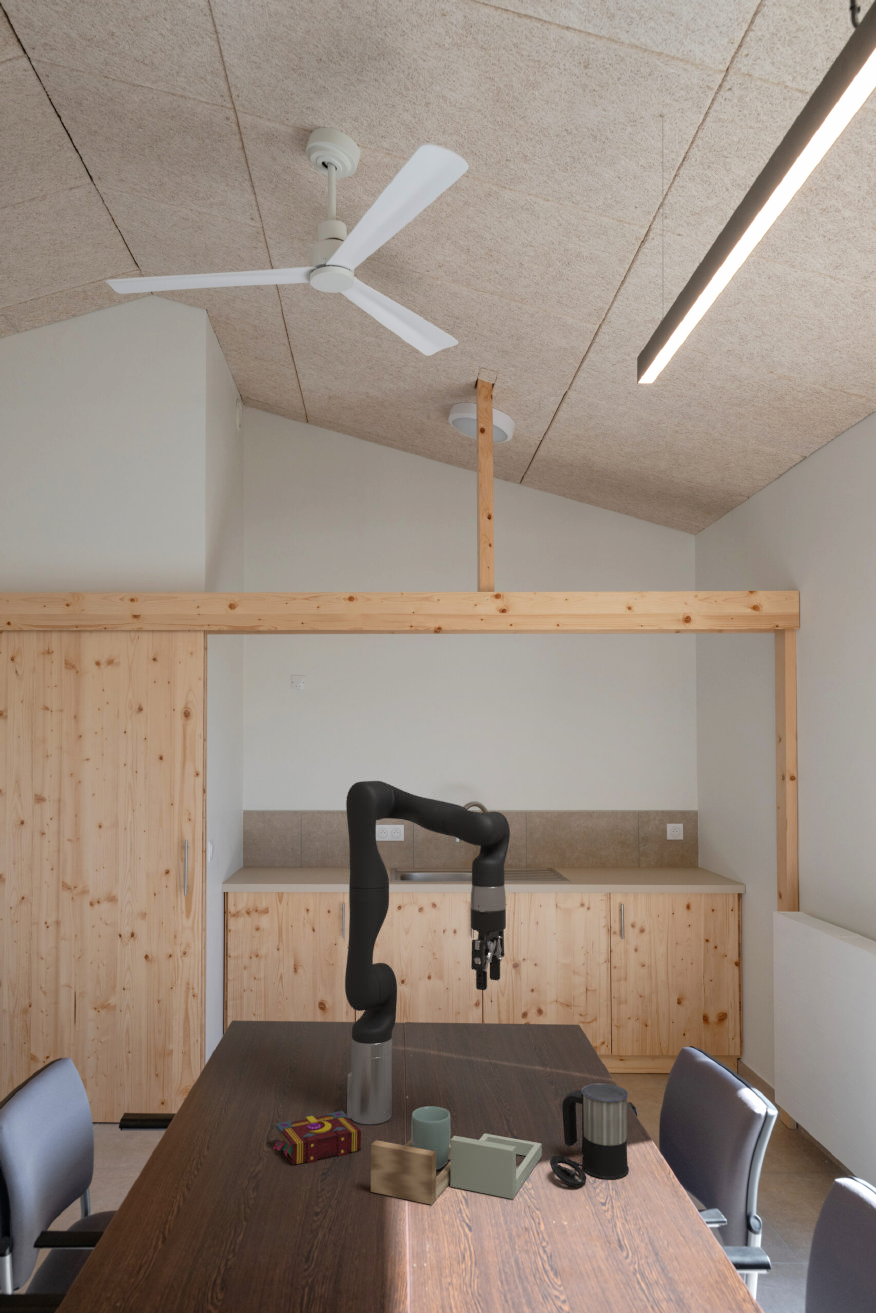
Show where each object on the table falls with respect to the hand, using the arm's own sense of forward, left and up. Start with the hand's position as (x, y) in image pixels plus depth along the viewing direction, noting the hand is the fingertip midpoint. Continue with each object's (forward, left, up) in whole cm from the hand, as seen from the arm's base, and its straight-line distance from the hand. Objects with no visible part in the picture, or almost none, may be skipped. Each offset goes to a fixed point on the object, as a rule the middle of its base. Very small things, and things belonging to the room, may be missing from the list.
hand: (488, 984), depth 189 cm
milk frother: (+22, -3, -33) cm, 40 cm away
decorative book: (-33, -14, -34) cm, 49 cm away
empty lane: (+5, -8, -33) cm, 35 cm away
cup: (-8, -12, -33) cm, 36 cm away
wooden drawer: (-8, -16, -33) cm, 38 cm away
